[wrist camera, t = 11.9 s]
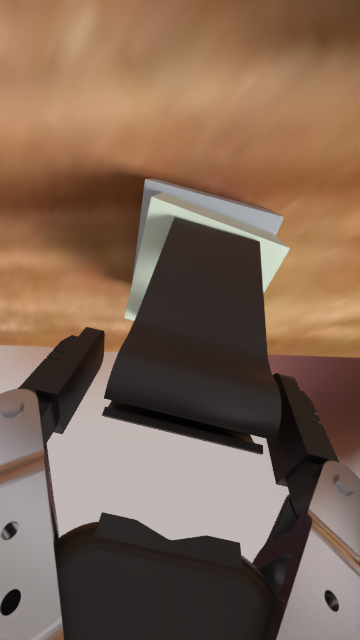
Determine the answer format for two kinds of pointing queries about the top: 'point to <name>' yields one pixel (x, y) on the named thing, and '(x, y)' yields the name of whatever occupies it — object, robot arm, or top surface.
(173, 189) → the tower base slab
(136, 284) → the tower top block
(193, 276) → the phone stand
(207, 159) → the top surface
